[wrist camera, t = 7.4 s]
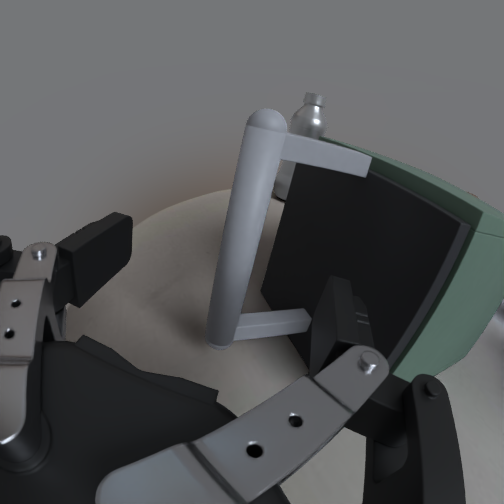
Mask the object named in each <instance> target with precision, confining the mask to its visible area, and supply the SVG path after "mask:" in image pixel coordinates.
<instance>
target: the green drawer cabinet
mask: <svg viewBox="0 0 504 504" xmlns="http://www.w3.org/2000/svg"><path fill="white" fill-rule="evenodd" d="M318 140H320V141H324V142H328V143H331V144H335V145H338V146H342V147H345V148H349V149H352V150H355V151H358V152H361V153H363V154H366V155H368V156H371V157H372V160H371V163H370V166H369V169H370V170H372V171H375V172H377V173H379V174H381V175H383V176H385V177H387V178H389V179H391V180H393V181H395V182H397V183H399V184H401V185H403V186H404V187H406V188H408V189H410V190H412V191H414V192H416V193H418V194H419V195H421V196H423V197H425V198H427V199H428V200H430V201H432V202H434V203H435V204H437V205H439V206H441V207H442V208H444V209H446V210H447V211H449V212H451V213H452V214H454V215H456V216H457V217H459V218H460V219H462V220H464V221H465V222H467V223H468V224H470V225H471V227H470V229H469V232H468V234H467V236H466V239H465V241H464V243H463V245H462V248H461V250H460V252H459V254H458V256H457V258H456V260H455V262H454V265H453V267H452V269H451V271H450V273H449V274H448V276H447V278H446V280H445V282H444V284H443V286H442V288H441V290H440V291H439V293H438V295H437V297H436V299H435V300H434V302H433V304H432V306H431V307H430V309H429V311H428V312H427V314H426V316H425V317H424V319H423V321H422V322H421V324H420V326H419V327H418V329H417V330H416V332H415V333H414V335H413V337H412V338H411V340H410V341H409V343H408V344H407V346H406V347H405V349H404V350H403V351H402V353H401V354H400V356H399V357H398V359H397V360H396V361H395V363H394V364H393V366H392V367H391V368H390V370H389V372H390V373H391V374H393V375H395V376H397V377H399V378H402V379H404V380H406V381H408V382H411V381H412V380H413V379H414V377H416V376H417V375H419V374H428V375H431V376H433V377H434V376H435V375H437V374H439V373H440V372H442V371H444V370H445V369H447V368H448V367H450V366H452V365H453V364H455V363H456V362H458V361H459V360H461V359H462V358H464V357H465V356H466V355H467V353H468V352H469V351H470V349H471V348H472V347H473V345H474V344H475V342H476V341H477V340H478V338H479V337H480V335H481V334H482V332H483V331H484V329H485V328H486V326H487V325H488V323H489V322H490V320H491V319H492V317H493V315H494V314H495V312H496V311H497V309H498V307H499V306H500V304H501V302H502V300H503V299H504V214H503V213H502V212H500V211H498V210H497V209H495V208H494V207H492V206H490V205H489V204H487V203H485V202H483V201H481V200H480V199H478V198H476V197H475V196H473V195H471V194H469V193H467V192H465V191H463V190H462V189H460V188H458V187H456V186H454V185H452V184H450V183H448V182H446V181H444V180H442V179H440V178H438V177H436V176H434V175H432V174H430V173H427V172H425V171H422V170H420V169H417V168H415V167H412V166H410V165H407V164H405V163H402V162H399V161H397V160H394V159H391V158H389V157H386V156H383V155H380V154H377V153H374V152H371V151H368V150H365V149H362V148H359V147H356V146H353V145H350V144H347V143H343V142H340V141H336V140H333V139H330V138H326V137H323V136H319V139H318Z"/></svg>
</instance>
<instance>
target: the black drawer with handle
mask: <svg viewBox="0 0 504 504" xmlns="http://www.w3.org/2000/svg"><path fill="white" fill-rule="evenodd" d="M280 160H285V161H291V162H296V165H295V168H294V172H293V176H292V180H291V183H290V187H289V191H288V194H287V198H286V202H285V205H284V209H283V213H282V216H281V220H280V224H279V227H278V231H277V234H276V238H275V241H274V245H273V249H272V252H271V256H270V259H269V263H268V266H267V270H266V273H265V277H264V280H263V284H262V287H261V293H262V295H263V296H264V298H265V299H266V301H267V303H268V304H269V306H270V307H271V309H272V311H269V312H256V313H243V314H241V310H242V307H243V303H244V299H245V295H246V291H247V287H248V283H249V279H250V276H251V272H252V268H253V264H254V260H255V256H256V252H257V248H258V245H259V241H260V237H261V233H262V229H263V225H264V221H265V217H266V213H267V209H268V206H269V202H270V198H271V194H272V190H273V186H274V182H275V178H276V174H277V170H278V166H279V162H280ZM371 160H372V157H371V156H368V155H366V154H363V153H361V152H358V151H355V150H352V149H349V148H345V147H342V146H338V145H335V144H331V143H328V142H324V141H320V140H316V139H313V138H309V137H305V136H301V135H296V134H292V133H288V132H287V124H286V121H285V119H284V117H283V116H282V115H281V114H280V113H279V112H277V111H275V110H272V109H261V110H258V111H256V112H254V113H253V114H252V115H251V116H250V117H249V119H248V120H247V123H246V127H245V131H244V136H243V140H242V145H241V149H240V154H239V159H238V163H237V168H236V173H235V178H234V182H233V187H232V191H231V196H230V201H229V206H228V211H227V216H226V221H225V226H224V231H223V236H222V241H221V247H220V252H219V257H218V262H217V268H216V273H215V279H214V284H213V290H212V295H211V301H210V306H209V312H208V318H207V324H206V330H205V339H206V342H207V344H208V345H209V346H210V347H212V348H213V349H216V350H224V349H226V348H228V347H229V346H230V345H231V344H232V343H233V341H237V340H247V339H255V338H264V337H272V336H280V335H288V336H289V338H290V339H291V341H292V343H293V344H294V346H295V347H296V349H297V350H298V352H299V354H300V355H301V357H302V358H303V360H304V362H305V363H306V365H307V366H308V368H309V369H310V354H311V336H312V321H313V317H314V313H315V310H316V308H317V305H318V303H319V300H320V298H321V296H322V293H323V291H324V289H325V286H326V284H327V281H328V279H329V277H330V276H331V275H332V276H336V277H339V278H343V279H346V280H349V281H350V282H351V287H352V293H353V295H355V296H358V297H360V298H361V300H362V301H363V303H364V304H365V305H366V308H367V313H368V317H369V322H370V324H369V325H370V327H371V332H372V337H373V342H374V348H375V349H376V350H377V351H379V352H380V353H381V354H382V355H383V356H384V357H385V358H386V360H387V361H388V364H389V370H390V368H391V367H392V366H393V364H394V363H395V361H396V360H397V359H398V357H399V356H400V354H401V353H402V351H403V350H404V349H405V347H406V346H407V344H408V343H409V341H410V340H411V338H412V337H413V335H414V333H415V332H416V330H417V329H418V327H419V326H420V324H421V322H422V321H423V319H424V317H425V316H426V314H427V312H428V311H429V309H430V307H431V306H432V304H433V302H434V300H435V299H436V297H437V295H438V293H439V291H440V290H441V288H442V286H443V284H444V282H445V280H446V278H447V276H448V274H449V273H450V271H451V269H452V267H453V265H454V262H455V260H456V258H457V256H458V254H459V252H460V250H461V248H462V245H463V243H464V241H465V239H466V236H467V234H468V232H469V229H470V227H471V225H470V224H468V223H467V222H465V221H464V220H462V219H460V218H459V217H457V216H456V215H454V214H452V213H451V212H449V211H447V210H446V209H444V208H442V207H441V206H439V205H437V204H435V203H434V202H432V201H430V200H428V199H427V198H425V197H423V196H421V195H419V194H418V193H416V192H414V191H412V190H410V189H408V188H406V187H404V186H403V185H401V184H399V183H397V182H395V181H393V180H391V179H389V178H387V177H385V176H383V175H381V174H379V173H377V172H375V171H372V170H370V169H369V166H370V163H371Z"/></svg>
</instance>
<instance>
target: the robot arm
mask: <svg viewBox="0 0 504 504" xmlns="http://www.w3.org/2000/svg"><path fill="white" fill-rule="evenodd" d="M132 229H133V220H132V218H131V217H130V216H128V215H124V214H121V213H117V212H113V213H111V214H110V215H108V216H106V217H104V218H103V219H101V220H99V221H96V222H92V223H90V224H88V225H87V226H85V227H83V228H82V229H80V230H78V231H76V232H75V233H73V234H71V235H70V236H68V237H66V238H65V239H63V240H62V241H60V242H59V243H57V244H55V245H53V244H52V243H48V242H38V243H34V244H31V245H29V246H28V247H26V248H25V249H24V250H23V252H21V251H16V250H13V249H12V243H11V239H10V238H9V237H7V236H3V235H2V236H0V504H290V502H289V500H288V499H287V497H286V496H285V494H284V492H283V491H282V489H281V487H280V485H281V484H282V483H283V482H284V481H286V480H287V479H288V478H289V477H291V476H292V475H293V474H294V473H295V472H297V471H298V470H299V469H300V468H301V467H302V466H303V465H305V464H306V463H307V462H308V461H309V460H310V459H311V458H312V457H313V456H315V455H316V454H317V453H318V452H319V451H320V450H321V449H322V448H323V447H324V446H325V445H326V444H328V443H329V442H330V441H331V440H332V439H333V438H334V437H335V436H336V435H337V434H338V433H339V432H340V431H341V430H342V429H343V428H344V427H346V428H348V429H350V430H352V431H354V432H356V433H359V434H361V435H363V436H365V437H366V461H365V479H364V492H363V503H362V504H466V500H465V488H464V479H463V470H462V463H461V456H460V450H459V444H458V438H457V433H456V428H455V423H454V418H453V414H452V410H451V405H450V401H449V397H448V393H447V390H446V388H445V387H444V385H443V384H442V383H441V382H440V381H439V380H438V379H437V378H435V377H433V376H431V375H428V374H419V375H417V376H416V377H414V379H413V380H412V381H411V382H408V381H406V380H404V379H402V378H399V377H397V376H395V375H393V374H391V373H390V372H389V364H388V361H387V360H386V358H385V357H384V356H383V355H382V354H381V353H380V352H379V351H377V350H376V349H375V348H374V342H373V337H372V332H371V327H370V325H369V324H370V322H369V317H368V313H367V308H366V305H365V304H364V303H363V301H362V300H361V298H360V297H358V296H355V295H353V293H352V287H351V282H350V281H349V280H346V279H343V278H339V277H336V276H332V275H331V276H330V277H329V279H328V281H327V284H326V286H325V289H324V291H323V293H322V296H321V298H320V300H319V303H318V305H317V308H316V310H315V313H314V317H313V321H312V336H311V354H310V370H309V374H306V375H304V376H302V377H301V378H299V379H298V380H296V381H295V382H293V383H292V384H290V385H289V386H287V387H286V388H284V389H283V390H281V391H280V392H278V393H277V394H275V395H274V396H272V397H271V398H269V399H268V400H266V401H264V402H263V403H261V404H260V405H258V406H256V407H255V408H253V409H251V410H250V411H248V412H247V413H245V414H243V415H241V416H240V417H237V416H236V415H235V414H233V413H232V412H231V411H230V410H228V409H227V408H226V407H224V406H223V405H221V404H220V403H218V402H216V400H217V396H218V392H219V391H218V390H215V389H212V388H209V387H206V386H203V385H200V384H197V383H194V382H192V381H189V380H186V379H183V378H180V377H173V376H167V375H161V374H156V373H150V372H145V371H141V370H139V369H137V368H136V367H135V366H133V365H132V364H131V363H129V362H128V361H127V360H125V359H124V358H123V357H122V356H120V355H119V354H118V353H117V352H115V351H114V350H113V349H112V348H109V347H107V346H105V345H103V344H101V343H99V342H97V341H95V340H93V339H91V338H89V337H87V336H85V335H82V336H81V338H80V339H79V340H78V341H77V342H76V343H75V342H69V341H66V314H67V312H66V306H65V305H66V304H67V303H70V304H72V305H74V306H76V307H78V308H80V307H81V306H82V305H83V304H84V303H85V302H87V301H88V300H89V299H90V298H91V297H92V296H93V295H94V294H95V293H96V292H97V291H98V290H99V289H100V288H101V287H102V286H104V285H105V284H106V283H107V282H108V281H109V280H110V279H111V278H112V277H113V276H115V275H116V274H117V273H118V272H119V271H120V270H121V269H122V268H123V267H125V266H126V265H127V263H128V262H129V260H130V257H131V253H132Z"/></svg>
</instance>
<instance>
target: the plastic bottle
mask: <svg viewBox="0 0 504 504" xmlns="http://www.w3.org/2000/svg"><path fill="white" fill-rule="evenodd" d="M303 102H305V104H304V106H303V107H301V108H300V109H299V110H298V111H297V112H296V113H294V115H293V116H292V118H291V122H290V123H291V125H290V131H289V133H292V134H296V135H301V136H305V137H309V138H313V139H316V140H318V139H319V136H323V137H324V134H325V133H326V130H327V122H326V118H325V116H324V113H323V111H322V109H323V108H325V102H326V98H325V97H323V96H320V95H317V94H313V93H306V95H305V99H304V100H303ZM295 165H296V162H291V161H285V160H283V163H282V166H281V169H280V171H279V173H278V175H277V177H276V179H275V182H274V192H275V195H276V196H277V197H279V198H281V199H283V200H286V198H287V194H288V191H289V187H290V183H291V180H292V176H293V172H294V168H295Z"/></svg>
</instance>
